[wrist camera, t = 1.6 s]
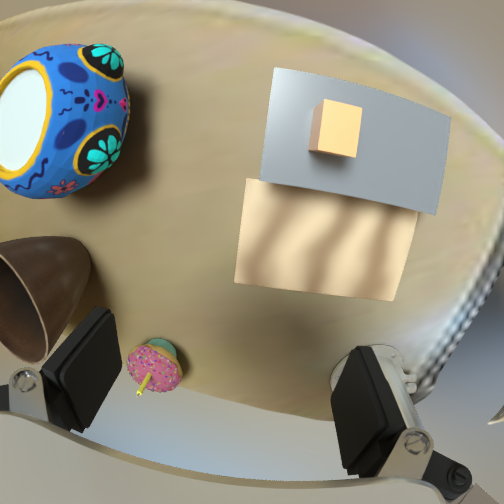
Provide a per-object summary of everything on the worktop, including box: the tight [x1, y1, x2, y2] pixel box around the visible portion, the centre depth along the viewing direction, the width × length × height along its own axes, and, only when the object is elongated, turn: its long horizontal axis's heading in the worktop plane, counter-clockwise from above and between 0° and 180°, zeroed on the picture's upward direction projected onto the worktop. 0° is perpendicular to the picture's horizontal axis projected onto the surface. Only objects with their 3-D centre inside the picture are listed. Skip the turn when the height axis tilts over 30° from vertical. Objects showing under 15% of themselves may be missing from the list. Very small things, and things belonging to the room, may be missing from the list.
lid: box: [259, 67, 451, 215], centre depth 22 cm, size 19×11×7 cm, turn 83°
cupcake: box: [126, 338, 183, 397], centre depth 36 cm, size 9×8×12 cm
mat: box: [234, 178, 419, 301], centre depth 34 cm, size 22×13×1 cm, turn 83°
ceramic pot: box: [0, 44, 131, 199], centre depth 23 cm, size 18×18×15 cm
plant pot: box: [0, 236, 91, 364], centre depth 29 cm, size 15×15×16 cm
